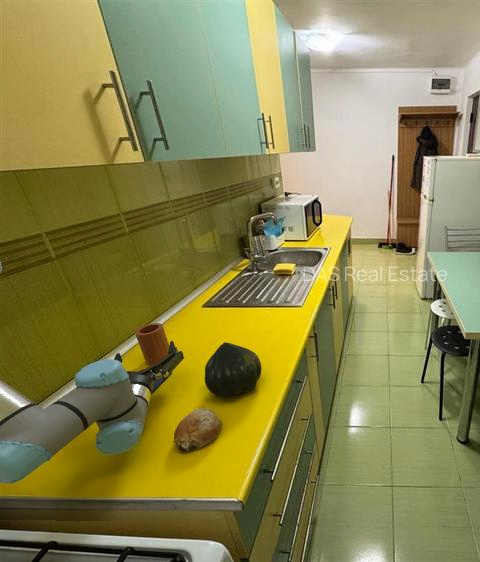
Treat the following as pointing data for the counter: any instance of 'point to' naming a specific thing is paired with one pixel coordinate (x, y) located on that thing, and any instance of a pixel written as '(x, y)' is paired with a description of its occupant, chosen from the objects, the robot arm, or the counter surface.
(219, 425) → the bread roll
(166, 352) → the jar
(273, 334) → the counter surface
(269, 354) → the counter surface
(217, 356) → the squash
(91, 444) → the counter surface
